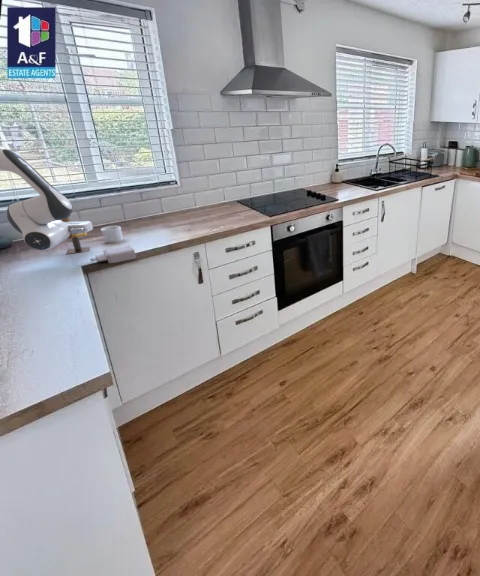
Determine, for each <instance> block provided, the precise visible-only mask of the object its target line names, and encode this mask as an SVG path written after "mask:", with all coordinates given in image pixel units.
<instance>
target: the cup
mask: <svg viewBox="0 0 480 576" xmlns="http://www.w3.org/2000/svg"><path fill="white" fill-rule="evenodd" d="M100 231H101V234H102V236H103V238H104V241H105V243H109V244H110V243H111V244H113V243H118V242H121V241H123V240H124V237H123V232H122V227H121V226H120V225H109V226H108V225H107V226H104V227H101V228H100Z"/></svg>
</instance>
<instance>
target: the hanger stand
mask: <svg viewBox="0 0 480 576" xmlns="http://www.w3.org/2000/svg"><path fill="white" fill-rule="evenodd" d="M74 234H77V233H74ZM79 238H80V237H75V238H70V239H71V242H72V245H73V248H67V250H66V253H65V256H67V255H75V254H81V253H87V252H88V253H89V252H90V250H91V246H86V247H85V246H84V247H82V245H81V242H80V239H79Z"/></svg>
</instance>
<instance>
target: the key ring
mask: <svg viewBox="0 0 480 576" xmlns="http://www.w3.org/2000/svg"><path fill="white" fill-rule="evenodd" d="M61 221H63V222H71V220H70V217H69V218H66V219H62V220H61ZM87 235H88V232H85V233H77V234H74V233H72V234H70V236H69V237H68V238H67V239H66V240H68V239H71V238H75V237H78V238H81V237H85V236H87Z"/></svg>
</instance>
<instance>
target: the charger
mask: <svg viewBox="0 0 480 576" xmlns="http://www.w3.org/2000/svg"><path fill="white" fill-rule="evenodd" d="M102 252H103V253H102V254H98V255H95V257H94V258H90V259H89V260H90V262H95V261H97V263H103V262H107V263H108V264H115V263H122V262H126V261H131V260H136V259H137V256H136V251H135V250H134V248H133V247H132V245H130V244H127V245H123V246H122V245H121V246H117V247H112V248H111V247H110V248H105V249H104V250H103V251H102Z"/></svg>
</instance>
